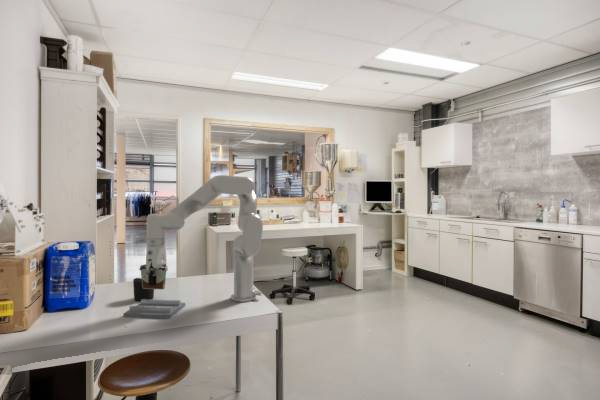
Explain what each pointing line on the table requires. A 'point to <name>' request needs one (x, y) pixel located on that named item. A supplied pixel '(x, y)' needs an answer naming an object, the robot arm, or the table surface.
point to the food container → (159, 277)
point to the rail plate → (155, 308)
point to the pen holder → (141, 291)
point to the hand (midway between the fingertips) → (155, 282)
